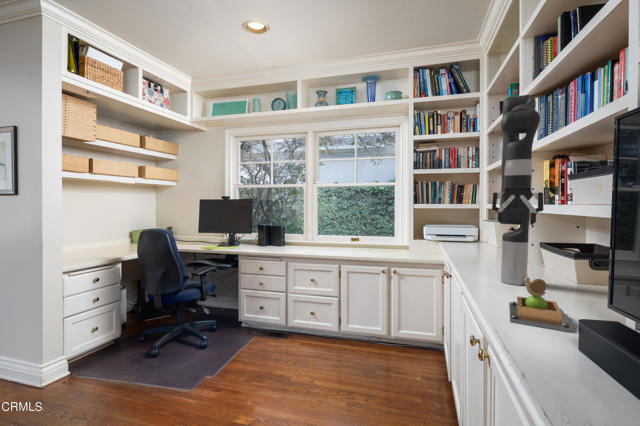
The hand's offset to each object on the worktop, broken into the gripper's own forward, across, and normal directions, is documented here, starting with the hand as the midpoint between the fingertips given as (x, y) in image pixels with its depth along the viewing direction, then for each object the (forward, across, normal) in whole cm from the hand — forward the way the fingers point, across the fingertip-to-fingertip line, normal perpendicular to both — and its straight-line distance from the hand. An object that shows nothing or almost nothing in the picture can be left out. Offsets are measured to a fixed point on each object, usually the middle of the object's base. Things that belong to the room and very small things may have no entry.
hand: (516, 224), depth 105 cm
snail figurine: (+25, -5, +12) cm, 28 cm away
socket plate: (+26, -6, +12) cm, 29 cm away
